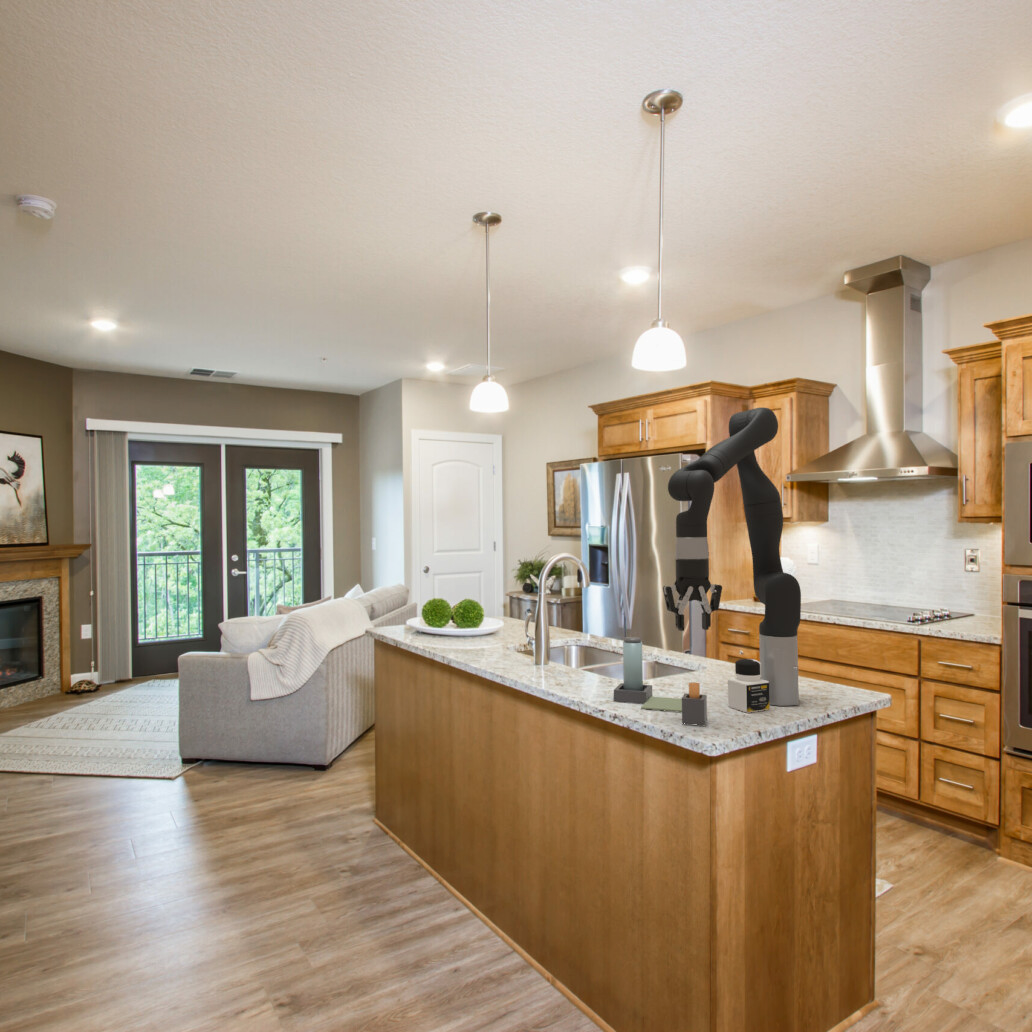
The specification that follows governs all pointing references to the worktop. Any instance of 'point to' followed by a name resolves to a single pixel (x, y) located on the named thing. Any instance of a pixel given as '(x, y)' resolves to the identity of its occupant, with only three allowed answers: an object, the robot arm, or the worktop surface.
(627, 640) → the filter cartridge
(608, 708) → the worktop surface
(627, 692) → the cartridge socket
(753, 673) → the medicine bottle
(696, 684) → the plunger
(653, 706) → the rubber mat
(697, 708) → the gray square socket block
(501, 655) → the worktop surface
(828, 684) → the worktop surface
